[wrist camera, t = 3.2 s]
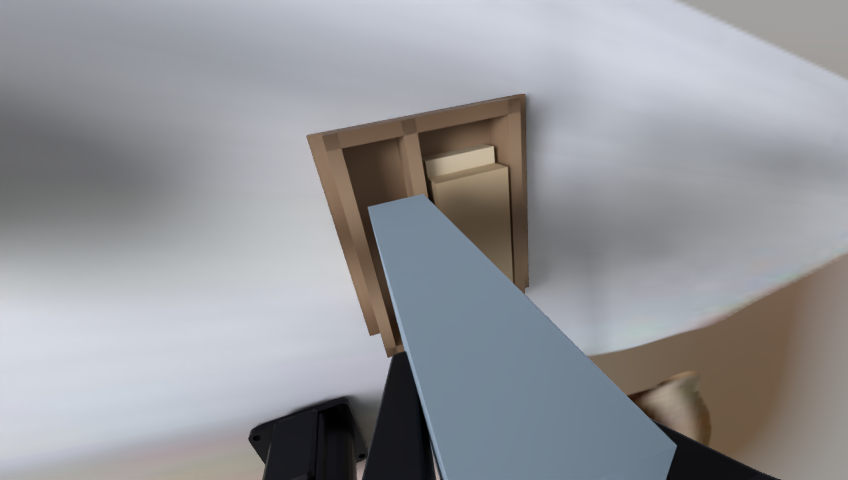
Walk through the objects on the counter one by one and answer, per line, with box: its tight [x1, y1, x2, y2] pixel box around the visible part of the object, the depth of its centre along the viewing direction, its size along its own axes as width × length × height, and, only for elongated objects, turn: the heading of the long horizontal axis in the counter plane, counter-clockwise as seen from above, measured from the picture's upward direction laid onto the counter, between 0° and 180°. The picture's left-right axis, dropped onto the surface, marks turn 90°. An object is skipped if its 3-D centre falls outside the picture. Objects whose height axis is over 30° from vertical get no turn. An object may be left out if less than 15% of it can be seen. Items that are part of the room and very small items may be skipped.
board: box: [368, 194, 677, 480], centre depth 8 cm, size 7×2×9 cm, turn 9°
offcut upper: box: [428, 163, 513, 282], centre depth 15 cm, size 6×4×1 cm, turn 9°
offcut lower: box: [422, 144, 495, 202], centre depth 17 cm, size 8×4×1 cm, turn 10°
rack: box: [306, 94, 529, 358], centre depth 16 cm, size 12×11×3 cm
